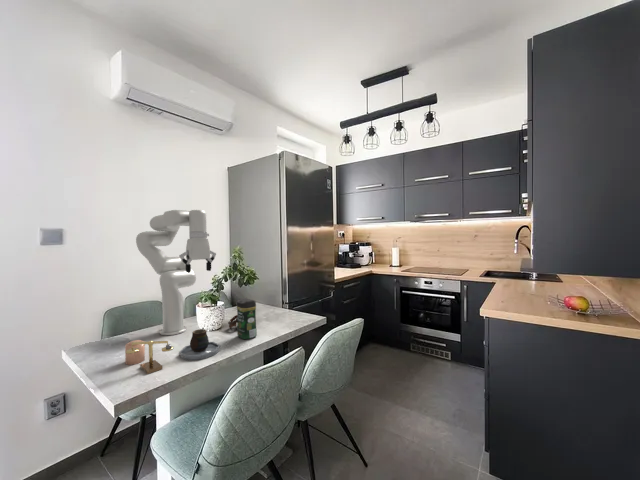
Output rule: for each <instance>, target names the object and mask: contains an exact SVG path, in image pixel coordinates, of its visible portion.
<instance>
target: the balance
mask: <svg viewBox="0 0 640 480" xmlns="http://www.w3.org/2000/svg"><path fill="white" fill-rule="evenodd" d="M136 344H145V345H148V361H147V362H143V363H139V368H140V369H141V370H142V371H143V372H144V373H146V374H147V375H149V374H153V373H155V372H158V371H161V370H163V365H162V364H161V363H159V361H157V360H155V359H154V350H153V348H154V346H153V345H158V344H166V345H165V346H164V347H162V348H161V351H162V352H165V353H166V352H170V351H173V350H174V346H173V345H172V344H171V343H170V344H169V340H149V341H145V342H132V348H131V349H128V350H126V354H132V353H136V352H138V351H139V348H133V345H136Z"/></svg>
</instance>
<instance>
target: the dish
mask: <svg viewBox="0 0 640 480" xmlns="http://www.w3.org/2000/svg"><path fill="white" fill-rule="evenodd" d="M220 348H221V344H219V343H217V342H215V341H209V343H208V347H207V348H206V349H205V350H204V351H201V352H195V351H193V350H192V349H191V347H190V344H188V345H186V346H184V347H183V348H182V349H181V350H180V351H178V354H179V355H180V359H182V360H185V361H200V360H204V359H208V358H211V357H213V356H216V355H217V354H218V353H219V352H220Z"/></svg>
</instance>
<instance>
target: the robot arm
mask: <svg viewBox="0 0 640 480" xmlns="http://www.w3.org/2000/svg"><path fill="white" fill-rule="evenodd" d="M181 226H182V227H188V230H189V238H187V241H186V246H185V251H184V252H182V253H181V254H179V256H167V255H166V254H165V252H164V251H163V250H162V249H160V248H158V247H167V246H170V245H172V243H173V242H174V240H175V237H177V236H176V235H177V234H178V232H179V229H180V228H181ZM149 227H150V228H151V229H153V230H152V231H151V230H150V231H141V232H139V233H138V234H137V235H136V237H135V243H136V246H137V247H136V248H137V250H138V251H139V252H140V254H141V255H142V256H143V257H144V258H145V259H146V260H147V261H148V263H149V265H151V267H152V269H153V271H154V272H155V273H156V274H158V276H160V277H159V285H160V290H161V302H162V303H161V305H162V307H161V308H162V329H160V330H159V335H161V336H174V335H179V334H182V333H185V332H187V330H188V328H187V326H186V325H184V297H183V293H182V292H181V291H180V290H179V289H183V288H186V287H191V286H193V285H194V284H195V283H196V280H197V276H196V274H195V271H194V270H193V269H192V265H191V264H190V263H191V262H192V261H199V260H205V261H206V262H205V263H206V266H205V268H206V269H205V270H206V271H208V272H210V271H211V270H212V263H213V261H214V260H215V258H216V255H217V252H214V251H213V250H211V249H210V241H209V238H208V237H210V233H208V231H207V213H206V211H205V210H203V209H191V210H186V209H185V210H183V209H182V210H181V209H173V210H167V211H164V212H163V214H160V215H155V216H153V217H152V218H151V219H150V220H149ZM211 272H212V271H211Z"/></svg>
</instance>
